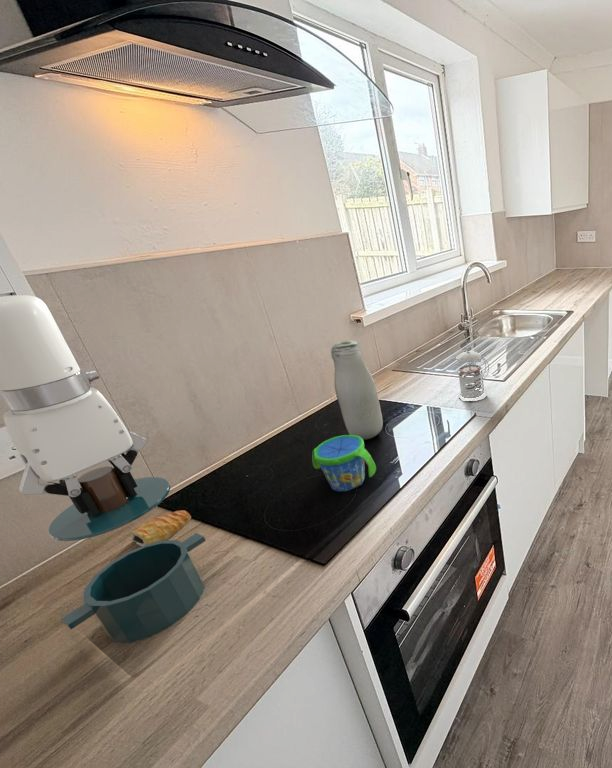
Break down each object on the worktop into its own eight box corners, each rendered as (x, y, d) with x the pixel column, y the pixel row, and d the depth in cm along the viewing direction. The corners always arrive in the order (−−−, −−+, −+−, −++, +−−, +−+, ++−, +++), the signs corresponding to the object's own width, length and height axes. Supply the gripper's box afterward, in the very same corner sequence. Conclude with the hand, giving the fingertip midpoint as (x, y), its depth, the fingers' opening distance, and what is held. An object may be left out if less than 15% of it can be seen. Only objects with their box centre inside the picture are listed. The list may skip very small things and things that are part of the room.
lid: (35, 528, 59) (10, 491, 57) (145, 475, 70) (128, 441, 68) (77, 556, 53) (51, 516, 51) (189, 493, 64) (173, 458, 62)
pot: (72, 641, 63) (43, 602, 60) (196, 556, 78) (179, 521, 75) (110, 676, 58) (81, 635, 55) (236, 578, 73) (219, 541, 69)
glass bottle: (373, 424, 122) (352, 333, 111) (392, 434, 116) (372, 339, 105) (342, 438, 116) (316, 343, 105) (360, 450, 109) (335, 350, 98)
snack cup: (390, 476, 98) (382, 439, 94) (359, 504, 89) (348, 465, 85) (340, 465, 104) (330, 429, 100) (306, 490, 95) (294, 452, 91)
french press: (452, 395, 138) (442, 322, 128) (481, 385, 144) (474, 315, 134) (468, 405, 130) (458, 328, 120) (498, 394, 136) (491, 320, 126)
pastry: (180, 514, 90) (173, 500, 88) (200, 521, 88) (193, 506, 86) (130, 545, 82) (122, 530, 81) (151, 553, 80) (142, 538, 78)
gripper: (112, 366, 62) (162, 467, 70) (-60, 416, 49) (23, 534, 56) (137, 372, 59) (186, 477, 66) (-40, 426, 46) (46, 551, 53)
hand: (111, 502), depth 61 cm, fingers closed on lid, 3 cm apart
